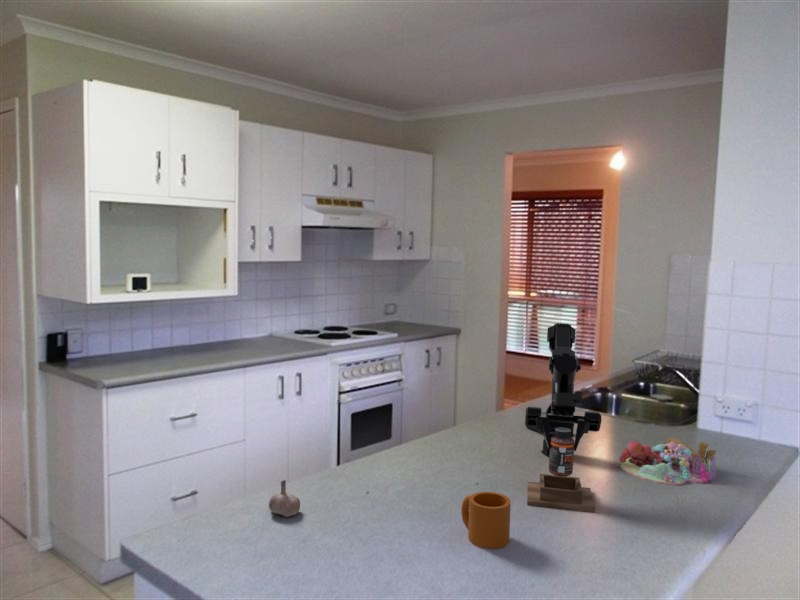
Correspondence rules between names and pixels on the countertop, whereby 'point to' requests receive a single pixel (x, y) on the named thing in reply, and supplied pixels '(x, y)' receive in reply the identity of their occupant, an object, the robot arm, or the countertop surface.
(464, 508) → the mug
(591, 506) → the bottle stand
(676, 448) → the coral reef model
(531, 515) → the countertop surface
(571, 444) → the supplement bottle
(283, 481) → the garlic bulb
